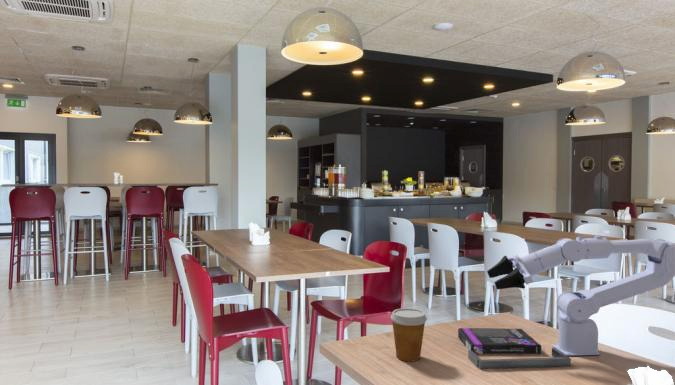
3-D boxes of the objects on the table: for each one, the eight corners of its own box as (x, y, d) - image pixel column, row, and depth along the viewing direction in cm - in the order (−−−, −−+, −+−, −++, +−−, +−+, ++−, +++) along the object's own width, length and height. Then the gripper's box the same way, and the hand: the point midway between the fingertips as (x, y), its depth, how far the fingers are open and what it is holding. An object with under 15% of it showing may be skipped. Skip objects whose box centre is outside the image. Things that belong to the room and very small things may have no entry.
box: (470, 357, 131) (541, 356, 130) (470, 344, 131) (542, 343, 130) (457, 339, 145) (522, 338, 144) (457, 327, 144) (522, 327, 144)
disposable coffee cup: (427, 352, 131) (428, 309, 131) (424, 365, 122) (425, 319, 122) (393, 349, 134) (393, 306, 133) (387, 361, 125) (387, 316, 124)
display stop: (555, 355, 130) (555, 348, 130) (571, 366, 122) (571, 358, 122) (468, 358, 127) (468, 350, 127) (479, 369, 120) (479, 361, 120)
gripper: (524, 240, 140) (480, 258, 142) (543, 259, 126) (494, 278, 128) (532, 261, 142) (488, 278, 143) (551, 282, 128) (503, 301, 129)
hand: (491, 280), depth 136 cm, fingers open, 7 cm apart
